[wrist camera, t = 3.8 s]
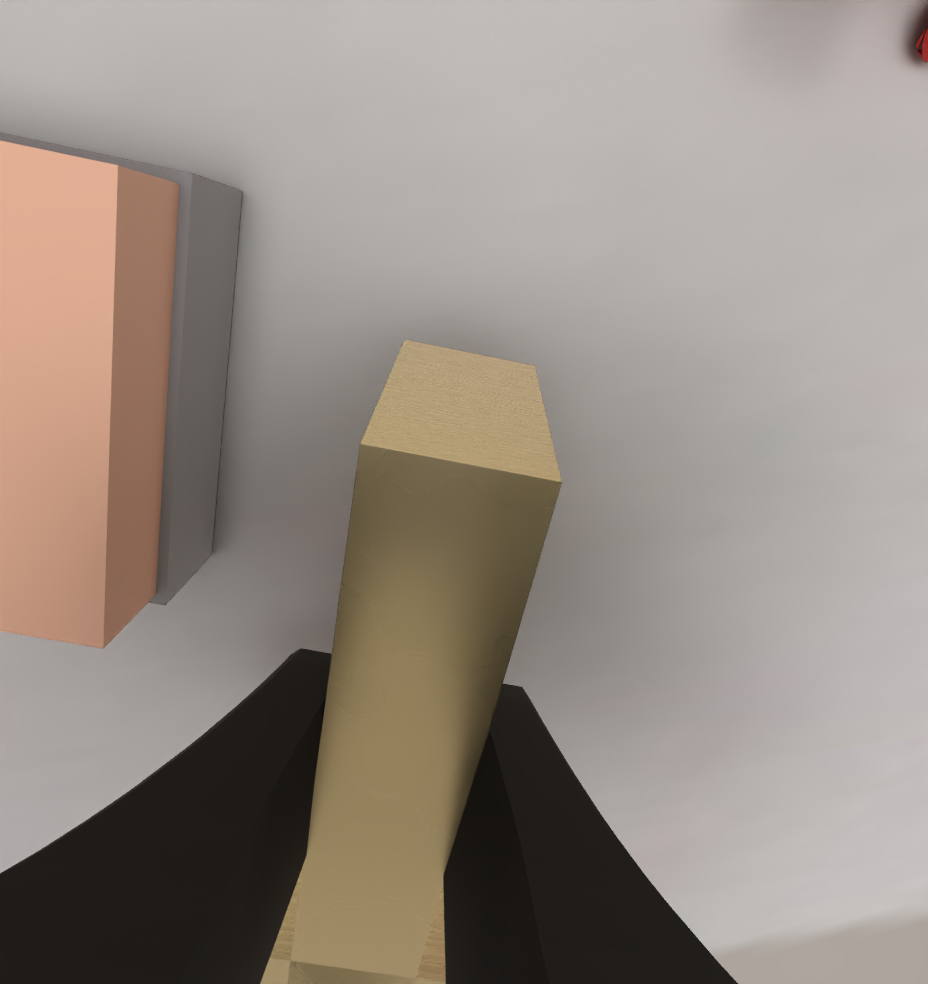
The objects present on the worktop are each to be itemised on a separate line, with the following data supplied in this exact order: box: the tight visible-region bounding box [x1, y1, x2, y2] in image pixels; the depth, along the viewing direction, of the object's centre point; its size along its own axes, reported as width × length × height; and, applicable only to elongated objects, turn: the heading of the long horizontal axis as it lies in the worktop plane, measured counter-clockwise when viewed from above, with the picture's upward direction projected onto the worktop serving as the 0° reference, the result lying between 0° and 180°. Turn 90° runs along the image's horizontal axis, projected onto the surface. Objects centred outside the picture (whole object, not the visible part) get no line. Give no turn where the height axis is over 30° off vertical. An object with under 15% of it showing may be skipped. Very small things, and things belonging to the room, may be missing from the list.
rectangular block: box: [260, 340, 562, 984], centre depth 10 cm, size 10×4×4 cm, turn 169°
